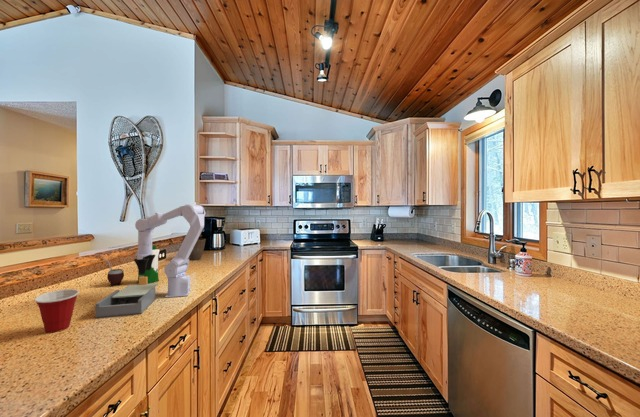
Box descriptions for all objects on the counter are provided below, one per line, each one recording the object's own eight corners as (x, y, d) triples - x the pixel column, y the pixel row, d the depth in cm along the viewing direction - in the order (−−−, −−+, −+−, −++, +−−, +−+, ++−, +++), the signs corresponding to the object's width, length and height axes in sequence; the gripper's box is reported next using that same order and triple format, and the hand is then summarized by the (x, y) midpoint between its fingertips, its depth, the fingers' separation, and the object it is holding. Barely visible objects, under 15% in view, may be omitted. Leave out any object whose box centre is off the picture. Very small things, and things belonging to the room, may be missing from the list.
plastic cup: (26, 339, 82) (26, 301, 82) (43, 325, 91) (43, 291, 91) (72, 332, 87) (72, 296, 87) (83, 320, 96) (83, 287, 96)
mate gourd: (127, 283, 143) (127, 255, 143) (114, 287, 135) (114, 258, 135) (114, 282, 144) (114, 255, 144) (101, 287, 136) (101, 258, 136)
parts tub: (155, 299, 118) (155, 287, 118) (141, 314, 102) (141, 300, 102) (116, 302, 114) (116, 290, 114) (95, 318, 98) (95, 303, 98)
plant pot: (191, 262, 200) (191, 241, 200) (180, 259, 208) (181, 239, 208) (209, 259, 212) (209, 239, 212) (198, 257, 220) (198, 238, 220)
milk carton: (161, 280, 148) (161, 245, 148) (145, 285, 140) (145, 247, 140) (150, 279, 151) (150, 244, 151) (134, 283, 143) (134, 246, 143)
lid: (157, 284, 127) (158, 275, 127) (145, 295, 111) (145, 285, 111) (129, 286, 123) (129, 277, 123) (111, 298, 107) (111, 288, 107)
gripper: (141, 241, 133) (141, 268, 133) (129, 245, 119) (129, 275, 119) (157, 241, 135) (156, 268, 135) (147, 245, 121) (147, 274, 121)
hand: (145, 271), depth 127 cm, fingers open, 7 cm apart
